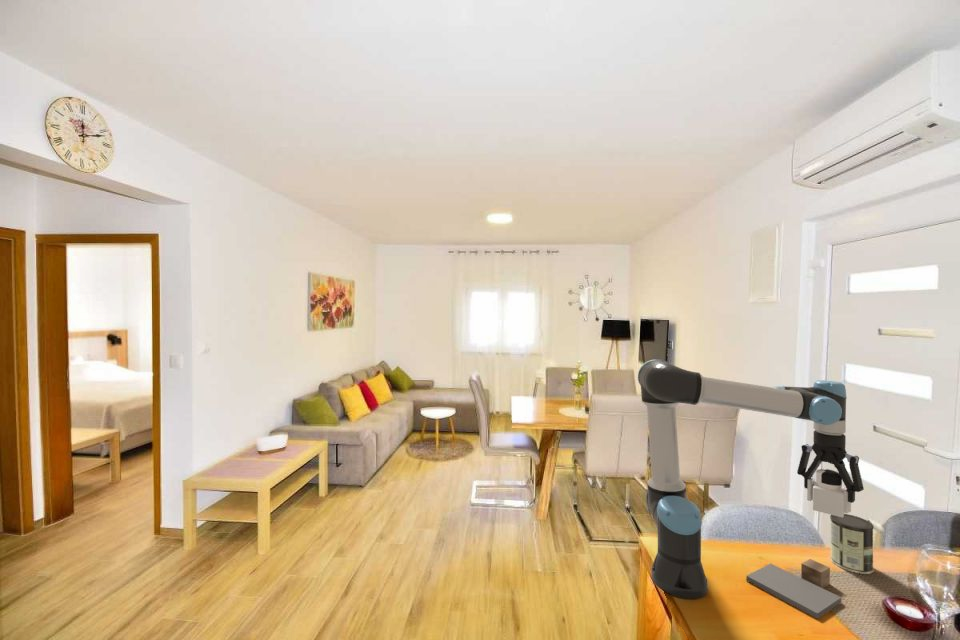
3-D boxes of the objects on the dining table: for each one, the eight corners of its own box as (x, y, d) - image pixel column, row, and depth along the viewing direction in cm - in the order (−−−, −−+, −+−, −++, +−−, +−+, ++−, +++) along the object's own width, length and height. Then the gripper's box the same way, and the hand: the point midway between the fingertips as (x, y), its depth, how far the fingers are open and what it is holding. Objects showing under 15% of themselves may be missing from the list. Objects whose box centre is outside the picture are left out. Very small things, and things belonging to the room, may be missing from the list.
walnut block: (801, 579, 125) (801, 563, 125) (810, 575, 128) (810, 558, 128) (821, 589, 121) (821, 572, 121) (829, 584, 123) (829, 567, 123)
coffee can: (858, 557, 137) (858, 514, 137) (882, 576, 127) (882, 530, 127) (822, 553, 139) (822, 511, 139) (842, 572, 129) (843, 526, 129)
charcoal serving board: (746, 580, 125) (746, 575, 125) (770, 568, 131) (770, 563, 131) (817, 619, 109) (817, 613, 109) (841, 602, 115) (841, 597, 115)
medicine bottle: (844, 509, 128) (844, 470, 128) (843, 518, 123) (843, 477, 123) (814, 502, 133) (815, 465, 133) (812, 510, 128) (812, 471, 128)
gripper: (880, 439, 120) (879, 517, 120) (796, 422, 139) (795, 490, 139) (868, 443, 117) (867, 523, 117) (783, 425, 135) (783, 494, 136)
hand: (828, 505), depth 128 cm, fingers closed on medicine bottle, 8 cm apart
